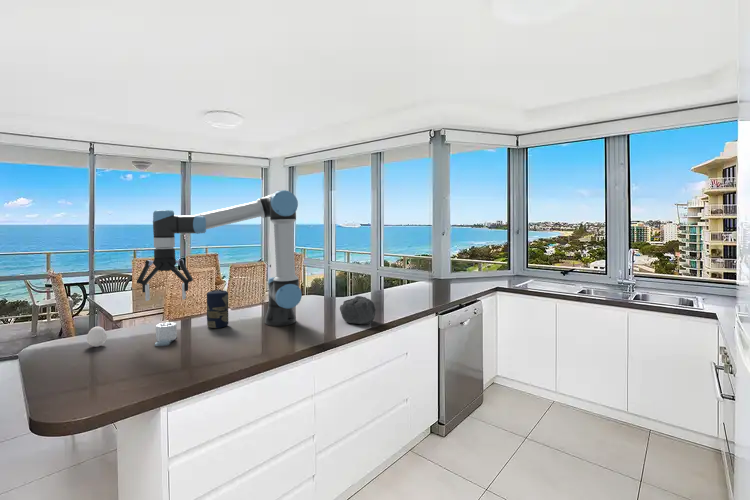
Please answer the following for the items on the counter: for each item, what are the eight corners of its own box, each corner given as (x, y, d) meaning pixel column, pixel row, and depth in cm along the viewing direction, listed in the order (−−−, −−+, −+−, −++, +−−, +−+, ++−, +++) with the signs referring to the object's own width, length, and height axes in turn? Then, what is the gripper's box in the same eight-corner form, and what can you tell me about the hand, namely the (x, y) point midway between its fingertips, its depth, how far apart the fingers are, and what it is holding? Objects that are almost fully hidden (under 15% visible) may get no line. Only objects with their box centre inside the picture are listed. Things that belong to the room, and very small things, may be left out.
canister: (220, 330, 173) (220, 291, 172) (202, 328, 175) (202, 290, 174) (232, 324, 183) (232, 288, 182) (215, 323, 185) (214, 287, 183)
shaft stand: (176, 336, 162) (176, 320, 161) (168, 345, 150) (168, 328, 150) (163, 337, 161) (163, 321, 160) (154, 346, 149) (154, 328, 149)
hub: (177, 335, 160) (177, 322, 159) (173, 340, 153) (173, 326, 152) (159, 336, 158) (159, 322, 158) (154, 341, 151) (154, 327, 151)
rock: (332, 298, 192) (353, 289, 202) (336, 323, 195) (356, 313, 206) (361, 306, 177) (382, 295, 188) (365, 333, 180) (385, 321, 191)
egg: (89, 344, 149) (89, 325, 149) (109, 343, 152) (108, 323, 151) (84, 349, 143) (84, 329, 143) (104, 347, 146) (104, 327, 145)
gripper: (199, 247, 160) (200, 296, 161) (133, 247, 154) (135, 299, 155) (195, 248, 152) (197, 300, 154) (126, 249, 146) (128, 302, 148)
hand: (166, 299), depth 154 cm, fingers open, 13 cm apart
